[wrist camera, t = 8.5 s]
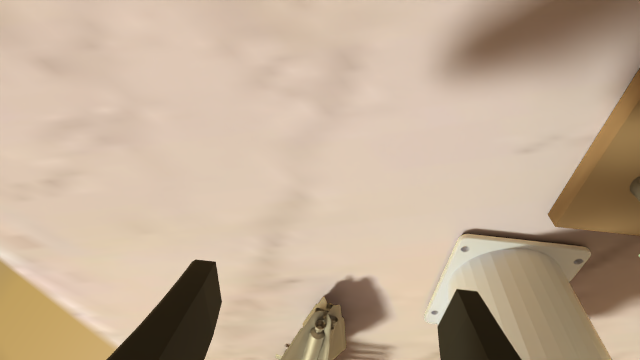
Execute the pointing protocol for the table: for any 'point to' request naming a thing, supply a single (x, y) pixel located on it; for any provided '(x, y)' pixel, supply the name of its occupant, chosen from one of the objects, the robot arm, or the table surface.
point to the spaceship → (319, 335)
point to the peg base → (607, 175)
